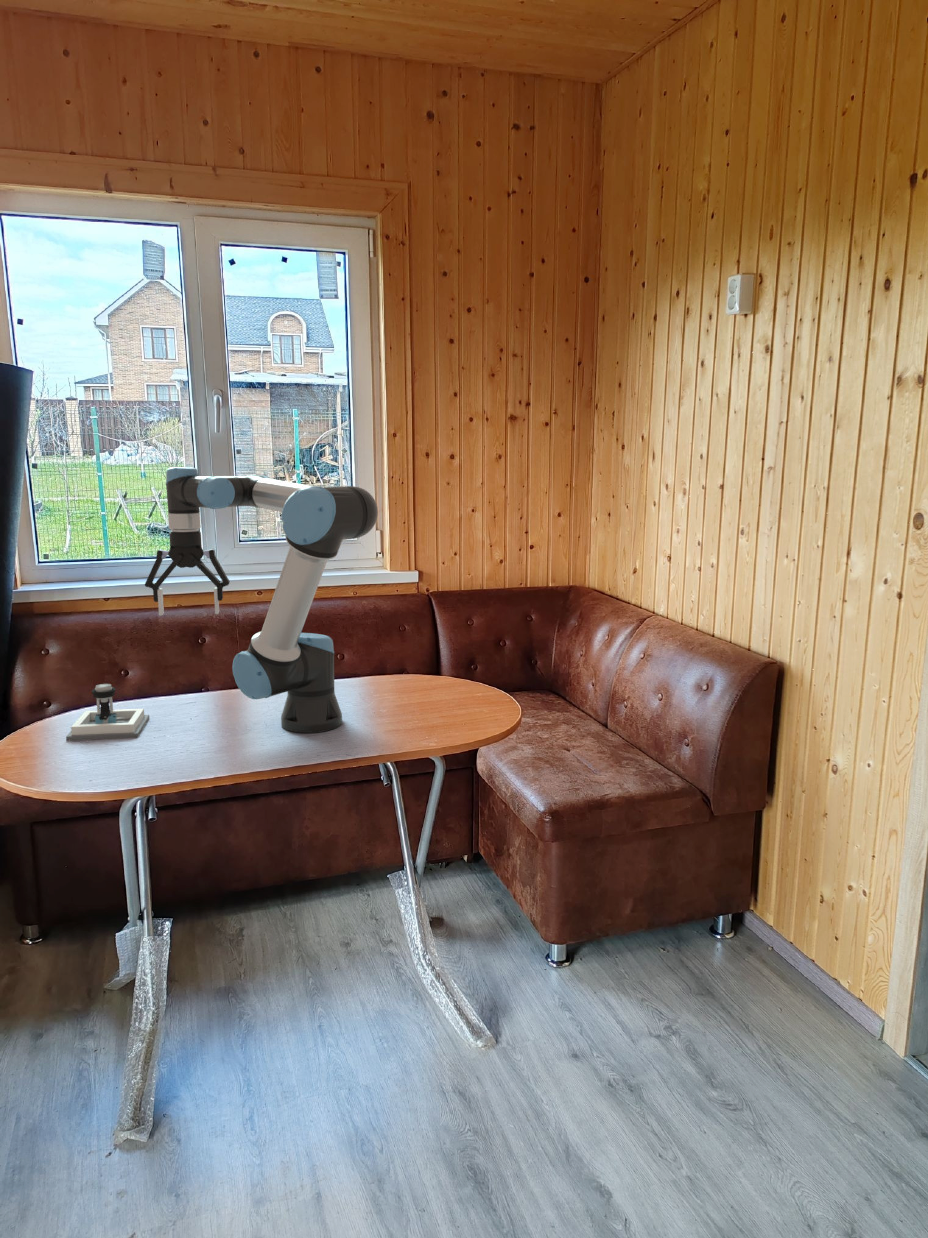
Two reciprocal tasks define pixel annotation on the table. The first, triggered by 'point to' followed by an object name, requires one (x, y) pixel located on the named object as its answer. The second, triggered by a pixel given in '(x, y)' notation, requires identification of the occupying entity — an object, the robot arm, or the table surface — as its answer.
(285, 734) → the table surface
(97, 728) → the socket plate
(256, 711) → the table surface
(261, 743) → the table surface
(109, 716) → the push button
